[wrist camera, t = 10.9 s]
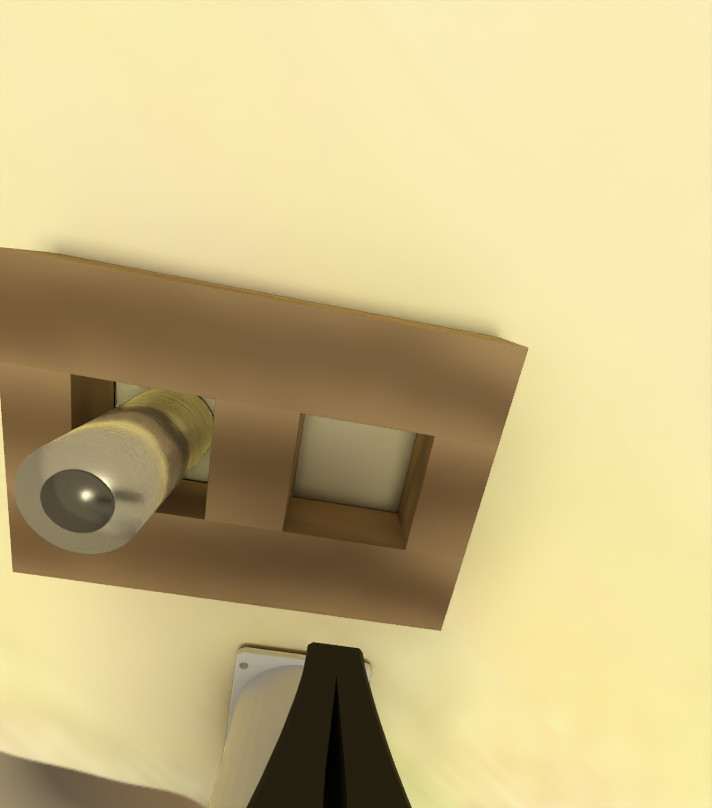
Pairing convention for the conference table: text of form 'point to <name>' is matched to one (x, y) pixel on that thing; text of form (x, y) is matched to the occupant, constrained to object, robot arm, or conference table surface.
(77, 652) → the conference table surface
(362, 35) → the conference table surface
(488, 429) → the jig plate
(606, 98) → the conference table surface
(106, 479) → the battery
